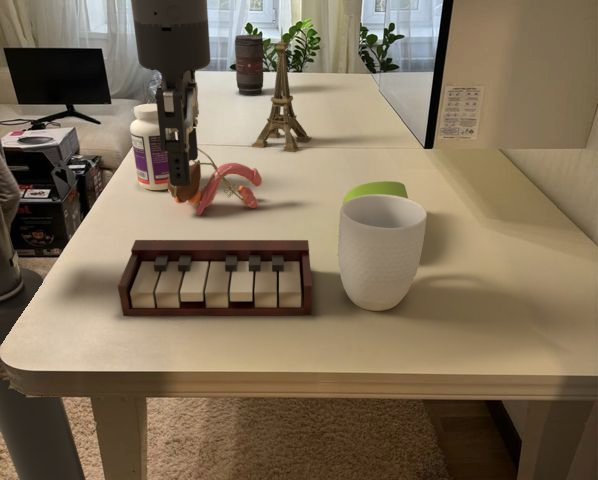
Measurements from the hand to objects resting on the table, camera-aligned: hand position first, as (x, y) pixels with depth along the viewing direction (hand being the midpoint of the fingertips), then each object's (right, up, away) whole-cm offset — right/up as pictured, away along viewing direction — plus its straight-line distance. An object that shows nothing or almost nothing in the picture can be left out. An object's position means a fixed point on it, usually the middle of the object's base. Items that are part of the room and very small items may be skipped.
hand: (185, 171), depth 70 cm
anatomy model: (-1, +5, +38) cm, 38 cm away
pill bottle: (-14, +11, +46) cm, 49 cm away
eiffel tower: (+9, +27, +69) cm, 74 cm away
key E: (-1, -12, +11) cm, 16 cm away
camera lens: (-1, +55, +106) cm, 120 cm away
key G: (+6, -12, +11) cm, 18 cm away
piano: (+2, -13, +13) cm, 19 cm away
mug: (+24, -14, +13) cm, 31 cm away
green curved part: (+27, -2, +29) cm, 40 cm away
